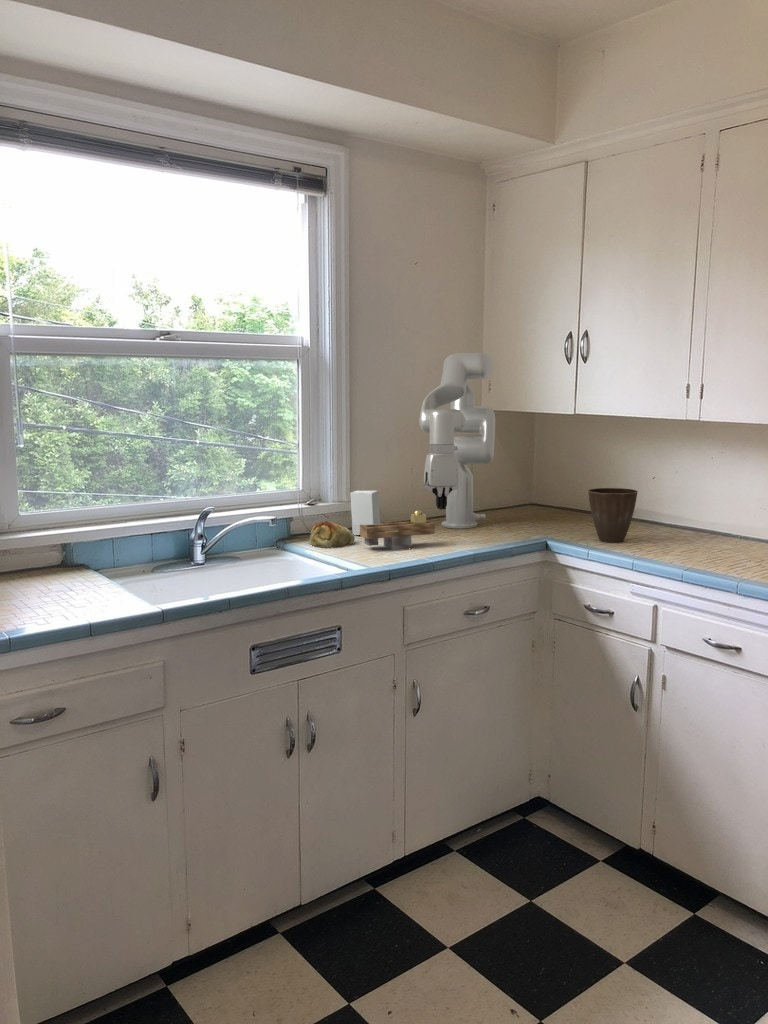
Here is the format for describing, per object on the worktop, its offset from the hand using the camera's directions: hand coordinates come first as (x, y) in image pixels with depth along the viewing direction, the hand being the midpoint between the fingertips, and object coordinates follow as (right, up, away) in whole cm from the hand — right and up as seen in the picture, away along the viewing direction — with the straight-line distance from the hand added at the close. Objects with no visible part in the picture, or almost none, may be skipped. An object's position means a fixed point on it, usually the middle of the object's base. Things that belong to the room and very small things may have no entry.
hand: (441, 508), depth 253 cm
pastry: (-35, -12, +3) cm, 36 cm away
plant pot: (+54, -10, +4) cm, 55 cm away
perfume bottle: (-7, -6, -1) cm, 9 cm away
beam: (-14, -12, -3) cm, 18 cm away
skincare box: (-24, -9, +19) cm, 32 cm away
